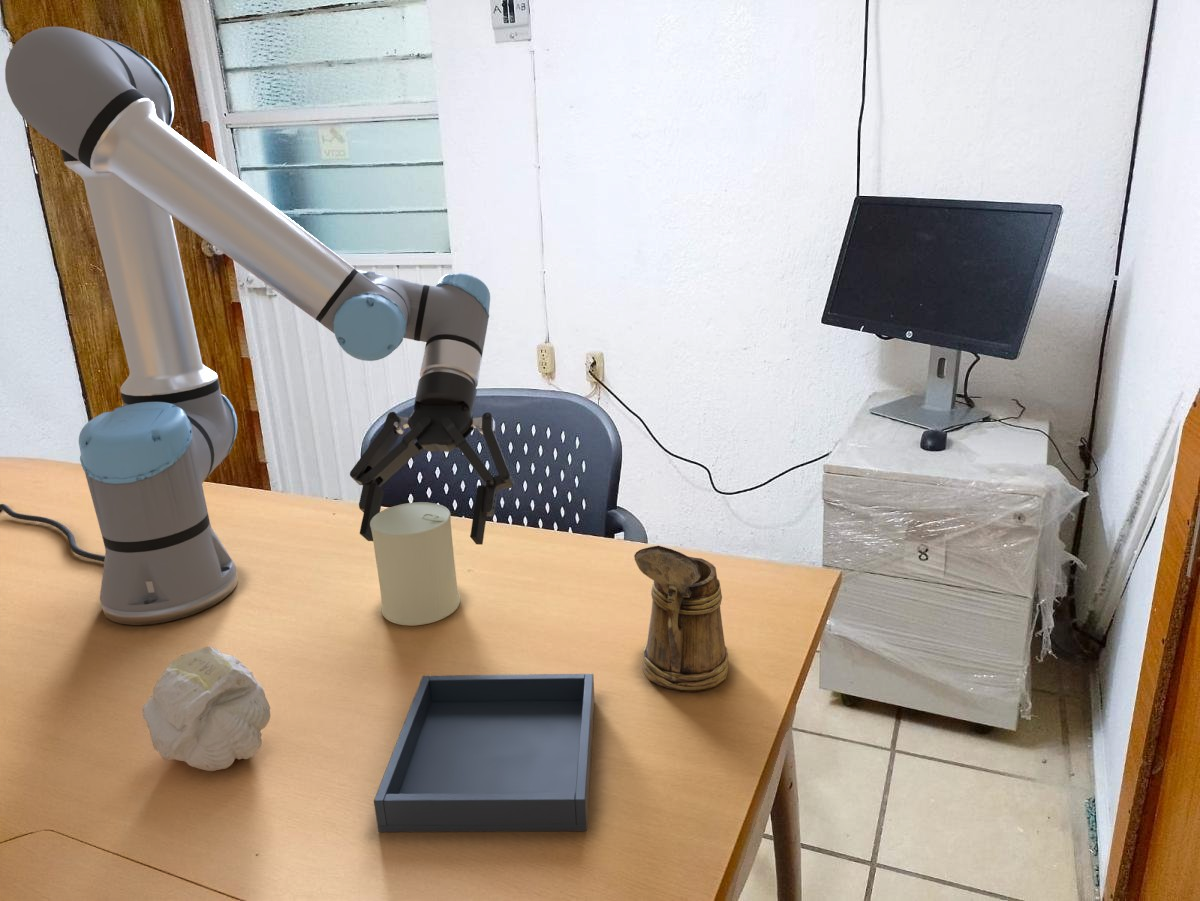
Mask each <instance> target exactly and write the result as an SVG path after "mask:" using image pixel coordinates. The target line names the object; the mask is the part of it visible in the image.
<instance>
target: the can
mask: <svg viewBox="0 0 1200 901" xmlns="http://www.w3.org/2000/svg"><path fill="white" fill-rule="evenodd" d="M451 517H452V514H451V511H450V510H449V508H447V507H446V506H444V505H442V504H439V503H434V502H428V501H427V502H426V501H425V502H424V501H419V502H408V503H407V502H406V503H402V504H401V503H400V504H398V505H393V506H391V507H387V508H385V509H383V510H380V512H379V513H378V514H376V515H375V516H374V517H373V518H372V519H371V521H370V527H371V531H372V536H373V541H372V542H373V548H374V555H375V561H376V569H377V576H378V583H379V591H380V597H381V614H382V616H383V618H385V620H387V621H388V622H390V623H393V624H396V625H399V626H411V627H412V626H413V627H414V626H415V627H416V626H423V625H428V624H432V623H435V622H438V621H441V620H444V619H445V618H447V617H449V616H451V615H452V614H453V613H455V612H456V611H457V609H458V608H459V605H460V603H461V596H460V593H459V590H458V580H457V573H456V562H455V554H454V546H453V545H454V543H453V532H452V522H451V521H452V520H451Z"/></svg>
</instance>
